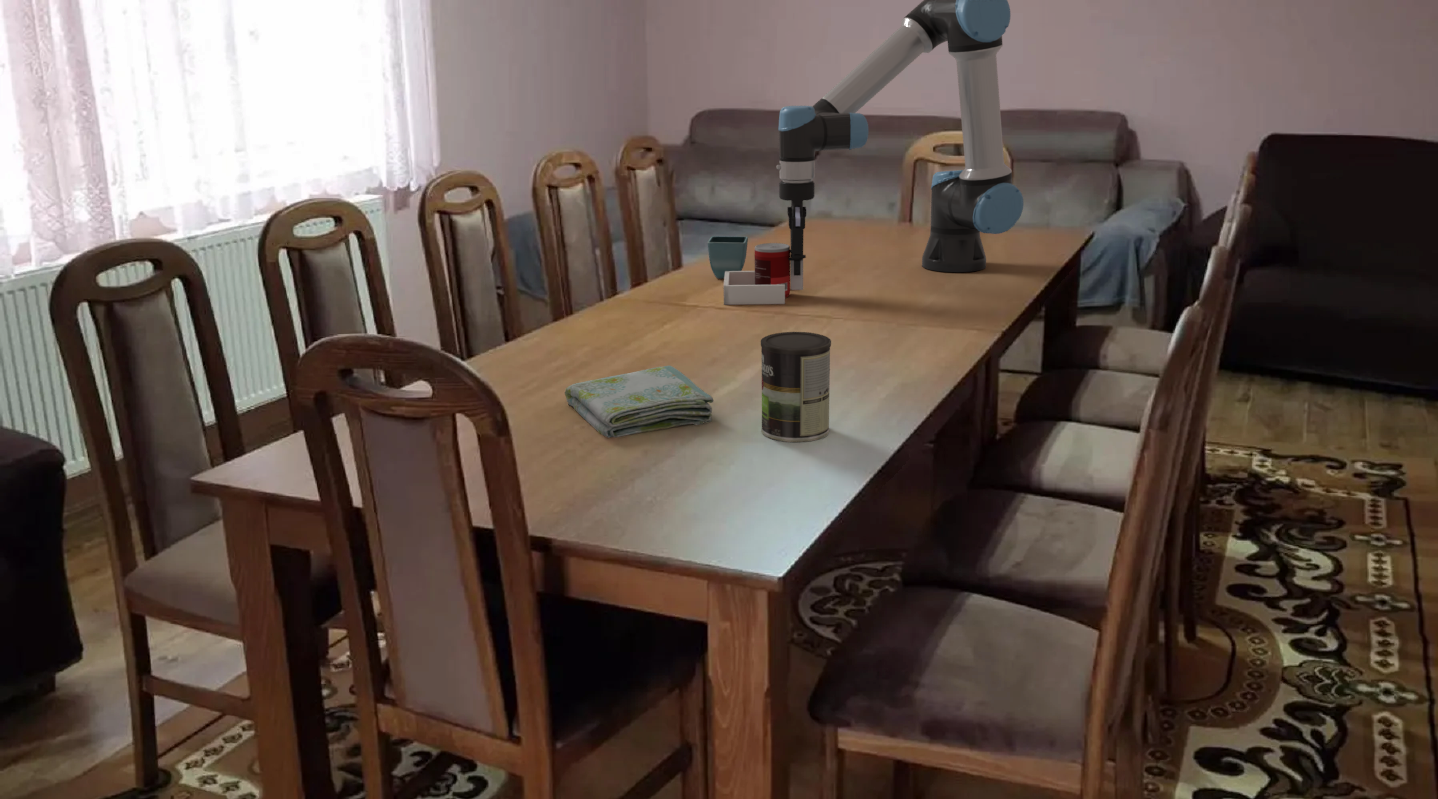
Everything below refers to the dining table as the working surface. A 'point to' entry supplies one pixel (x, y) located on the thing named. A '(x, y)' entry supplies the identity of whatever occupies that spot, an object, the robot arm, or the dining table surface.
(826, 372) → the coffee can
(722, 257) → the flower pot
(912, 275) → the dining table surface
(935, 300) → the dining table surface
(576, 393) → the towel
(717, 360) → the dining table surface
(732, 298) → the white open tray
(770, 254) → the canned food
